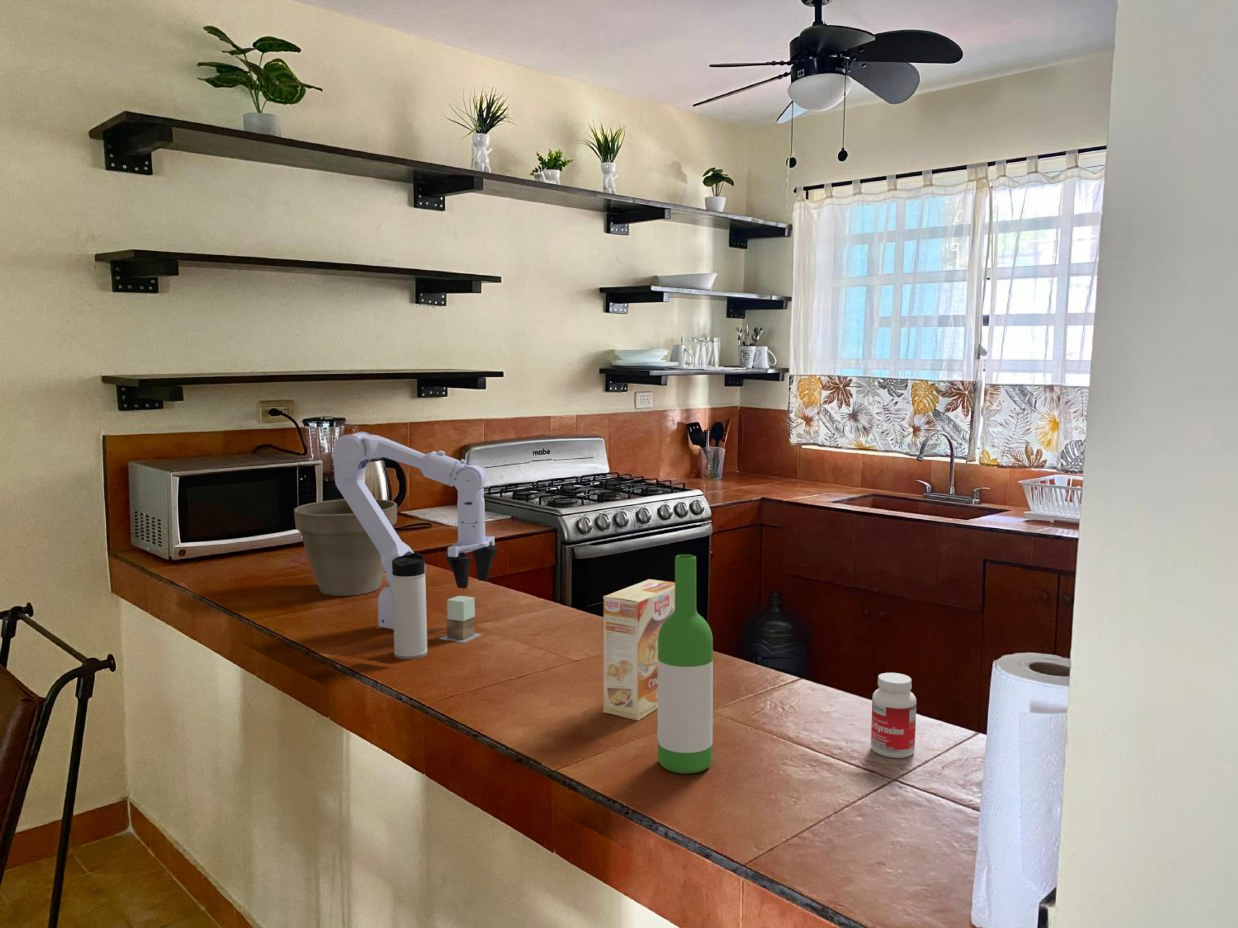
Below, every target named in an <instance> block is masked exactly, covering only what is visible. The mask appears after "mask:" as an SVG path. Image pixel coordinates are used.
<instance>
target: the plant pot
mask: <svg viewBox="0 0 1238 928" xmlns="http://www.w3.org/2000/svg"><path fill="white" fill-rule="evenodd" d="M374 499H375V500H376V502H377V503H378V505H379V506H380V508H381V510H382V511H383V513H384V514H385V516H386V517H387V519H388V520H389V522H390V524H391V525H392V527H393V528H394V526H395V524H396V523H397V522H398V504H397V503H396V502H395V501H392V500H387V499H380V498H374ZM293 516H294V523H295V529H296V530H297V531H299V533H300V536H301V538H302V541H303V545H304V548H305V551H306V554H307V558H308V560H309V563H310V566H311V568H312V572H313V575H314V578H315V580H316V583H317V586H318V588H319V591H320V593H322V594H323V595H327V596H332V597H349V596H351V597H352V596H360V595H365V594H369V593H372V592H375V591H377V590H378V589H379V588H380V587H381V583H382V579H383V574H384V572H385V570H384V568H383V566H382V564H381V554H380V553H379V551H378V550H377V548H376V547H375V545H374V543H373V542H372V540H371V539H370V537H369V536H368V534H367V533H366V531H365V529H364V528H363V526H362V525H361V523H360V522H359V520H358V519H357V517H356V515H355V514H354V512H353V511H352V509H351V508H350V506H349V505H348V503H347V502H346V500H345V498H343V499H332V500H331V499H330V500H324V501H323V500H322V501H316V502H311V503H306V504H302V505H299V506H297V507H295V508H294V509H293Z"/></svg>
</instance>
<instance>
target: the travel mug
mask: <svg viewBox="0 0 1238 928" xmlns="http://www.w3.org/2000/svg"><path fill="white" fill-rule="evenodd" d="M425 562H426V561H425V556H424V555H422V553H419V552H414V553H412V554H411V555H403V556H399V557H396V558H394V559H393V560H392V569H393V571H392V577H393V578H392V589H393V622H394V629H393V647H394V648H393V649H394V652H393V653H394V657H395V658H396V659H400V660H414V659H420V658H422V657H423V658H424V657H425V656H427V654H428V626H427V625H428V624H427V590H426V589H427V586H426V584H427V583H426V571H425V569H424V568H425V566H426V563H425Z"/></svg>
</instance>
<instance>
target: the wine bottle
mask: <svg viewBox="0 0 1238 928" xmlns="http://www.w3.org/2000/svg"><path fill="white" fill-rule="evenodd" d="M674 583H675V610H674V613H673V614H672V615H670V616H669V617H668V618H667V619H666V620H665V621H664V623H663V624H662V626H661V628H660V631H659V636H658V708H657V759H658V762H659V763H660V766H662V768H663V769H666V770H667V771H669V772H672V773H675V774H683V775H684V774H685V775H686V774H687V775H688V774H696V773H700V772H703V771H704V770H706V769H707V768H709V766H710V765H711V764H712V761H713V744H714V743H713V738H714V736H713V735H714V734H713V728H714V726H713V724H714V723H713V722H714V721H713V717H714V716H713V715H714V712H713V711H714V706H713V703H714V702H713V699H714V698H713V697H714V695H713V694H714V693H713V692H714V689H713V687H714V684H713V683H714V678H713V677H714V676H713V675H714V674H713V673H714V672H713V671H714V656H713V654H714V652H713V651H714V647H713V646H714V643H713V641H714V638H713V633H712V630H711V627H710V625H709V623H708V622H707V620H705V618H704V617H703V616H701V615H700V613H698V611H697V557H696V556H695V555H694V554H689V553H688V554H687V553H684V554H677V555H676V556H675V557H674Z"/></svg>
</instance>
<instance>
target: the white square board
mask: <svg viewBox="0 0 1238 928" xmlns="http://www.w3.org/2000/svg"><path fill="white" fill-rule="evenodd" d="M482 635H483V633H476V632H474V635H473V636H471V637H469V638H467V639H465V640H459V639H452V638H447V634H446V635H444V636H442V637H440V638H438V640H442V641H443V640H444V641H450V642H458V643H464V644H465V643H467V642H469V641H472V640H474V639H475V638H479V637H480V636H482Z"/></svg>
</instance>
